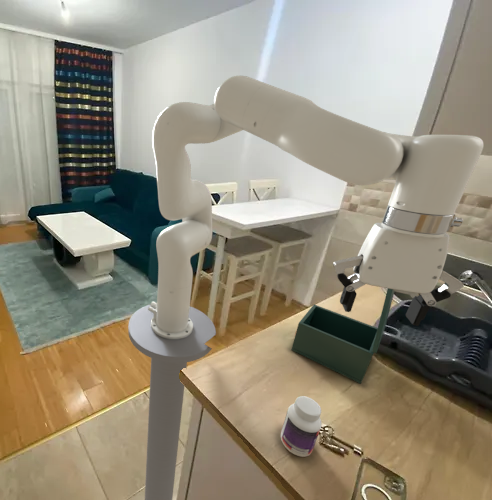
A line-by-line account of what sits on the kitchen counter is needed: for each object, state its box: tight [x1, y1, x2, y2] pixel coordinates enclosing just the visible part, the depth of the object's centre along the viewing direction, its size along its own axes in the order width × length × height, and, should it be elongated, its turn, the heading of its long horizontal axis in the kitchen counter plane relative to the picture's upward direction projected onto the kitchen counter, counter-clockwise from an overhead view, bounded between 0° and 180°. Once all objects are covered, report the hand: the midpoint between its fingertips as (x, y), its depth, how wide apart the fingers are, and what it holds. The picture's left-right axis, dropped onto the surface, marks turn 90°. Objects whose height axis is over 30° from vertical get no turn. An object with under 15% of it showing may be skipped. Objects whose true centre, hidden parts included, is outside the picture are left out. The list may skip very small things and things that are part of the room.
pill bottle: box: [280, 395, 323, 458], centre depth 52 cm, size 5×5×10 cm
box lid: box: [372, 288, 418, 354], centre depth 64 cm, size 16×13×5 cm
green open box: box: [290, 304, 378, 385], centre depth 75 cm, size 16×13×9 cm
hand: (377, 314), depth 51 cm, fingers open, 9 cm apart
